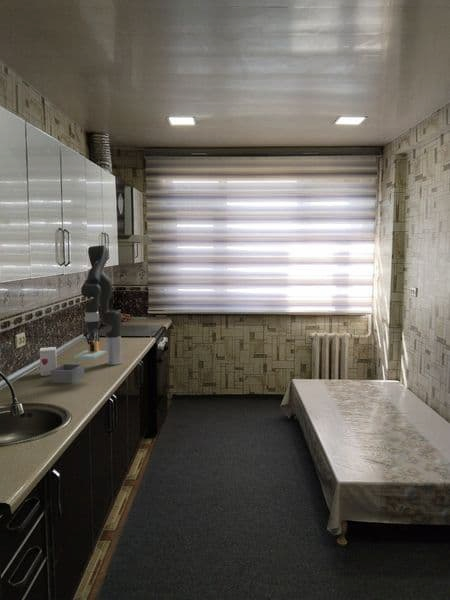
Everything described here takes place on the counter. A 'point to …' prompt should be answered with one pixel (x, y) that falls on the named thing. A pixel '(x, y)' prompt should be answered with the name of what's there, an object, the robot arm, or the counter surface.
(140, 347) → the counter surface
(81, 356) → the lid
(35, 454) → the counter surface
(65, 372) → the tub
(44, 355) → the supplement box
